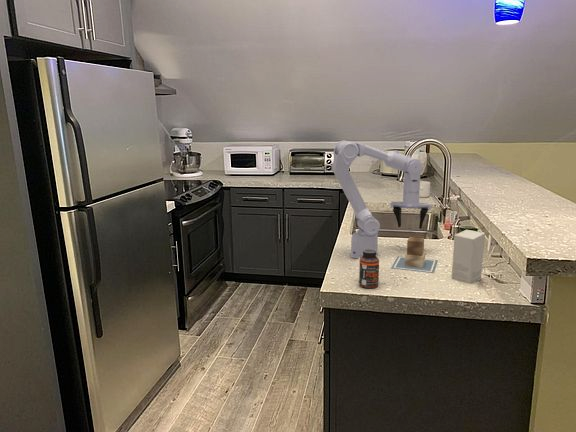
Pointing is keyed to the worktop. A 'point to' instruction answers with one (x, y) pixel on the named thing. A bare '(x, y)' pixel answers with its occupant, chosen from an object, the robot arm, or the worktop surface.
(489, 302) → the worktop surface
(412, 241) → the walnut cube
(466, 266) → the skincare box
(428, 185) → the mug
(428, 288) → the worktop surface
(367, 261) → the supplement bottle
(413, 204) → the robot arm
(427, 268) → the board
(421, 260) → the maple base block
